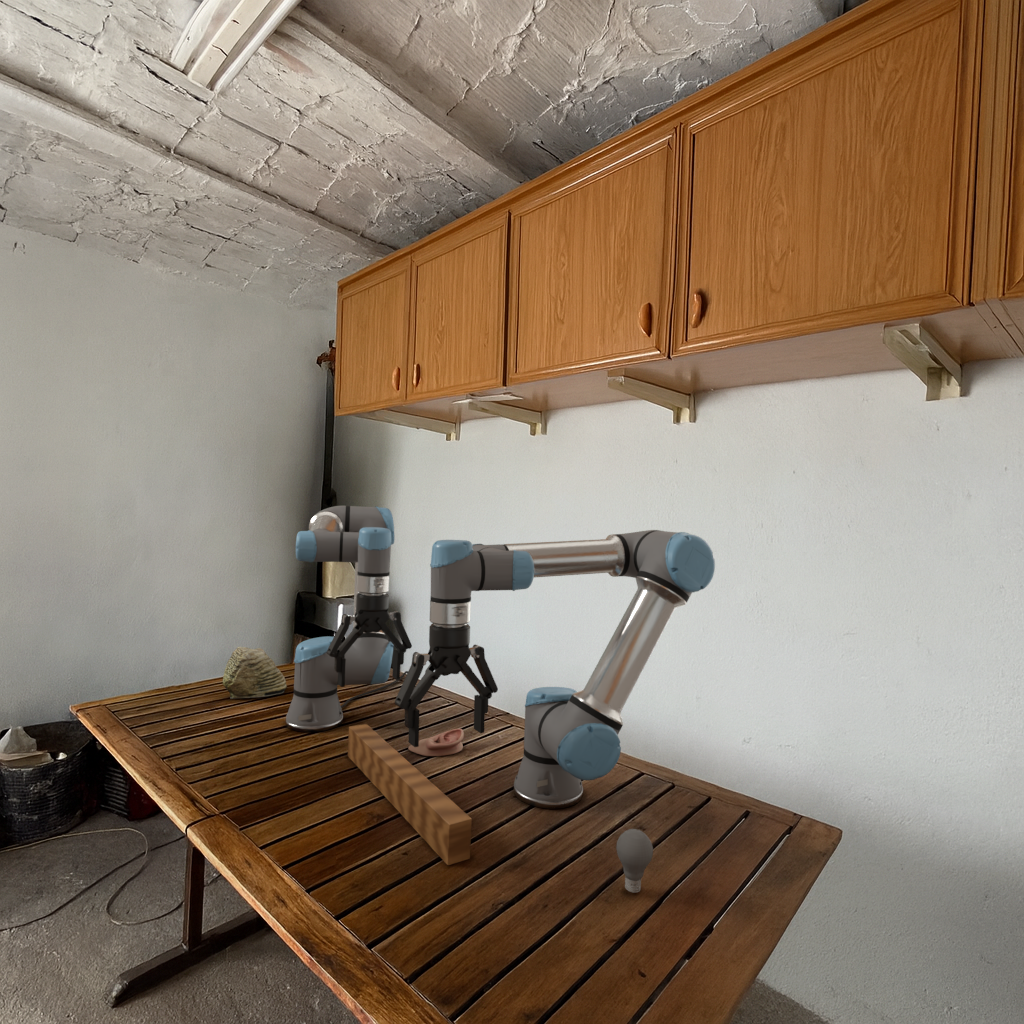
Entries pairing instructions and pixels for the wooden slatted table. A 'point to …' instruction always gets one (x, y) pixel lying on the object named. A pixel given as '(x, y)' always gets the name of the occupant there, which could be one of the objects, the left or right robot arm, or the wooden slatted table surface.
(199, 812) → the wooden slatted table surface
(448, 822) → the bar
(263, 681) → the fossil
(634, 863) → the light bulb
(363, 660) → the left robot arm
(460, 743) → the anatomical model
